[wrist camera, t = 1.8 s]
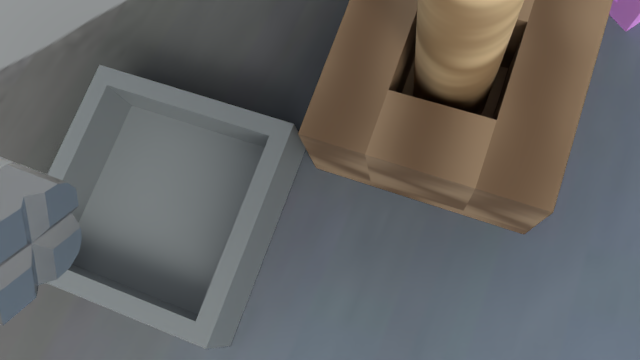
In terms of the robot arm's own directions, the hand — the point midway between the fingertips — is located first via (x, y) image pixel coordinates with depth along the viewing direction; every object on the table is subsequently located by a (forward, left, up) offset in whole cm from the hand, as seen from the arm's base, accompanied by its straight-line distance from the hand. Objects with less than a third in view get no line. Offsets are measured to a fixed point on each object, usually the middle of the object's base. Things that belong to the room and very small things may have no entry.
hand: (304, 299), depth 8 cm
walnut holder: (0, -13, -22) cm, 26 cm away
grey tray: (+13, -2, -22) cm, 26 cm away
